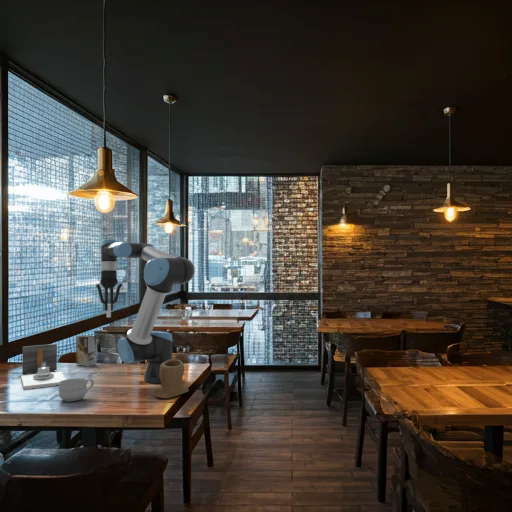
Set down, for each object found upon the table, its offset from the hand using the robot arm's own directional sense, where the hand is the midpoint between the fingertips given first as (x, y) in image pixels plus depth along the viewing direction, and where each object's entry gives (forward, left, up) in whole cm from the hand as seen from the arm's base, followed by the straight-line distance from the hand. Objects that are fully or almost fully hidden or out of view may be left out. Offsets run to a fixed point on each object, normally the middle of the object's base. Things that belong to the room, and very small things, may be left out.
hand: (108, 317), depth 227 cm
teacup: (-35, +20, -30) cm, 50 cm away
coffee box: (+35, +5, -30) cm, 46 cm away
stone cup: (-50, -16, -30) cm, 61 cm away
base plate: (+5, +29, -29) cm, 42 cm away
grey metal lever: (+11, +28, -28) cm, 41 cm away
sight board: (+27, +29, -29) cm, 49 cm away
